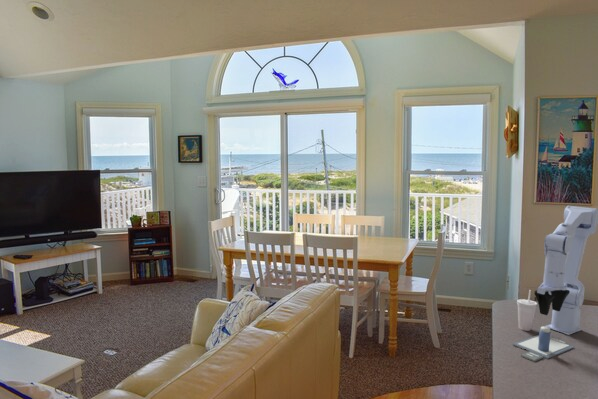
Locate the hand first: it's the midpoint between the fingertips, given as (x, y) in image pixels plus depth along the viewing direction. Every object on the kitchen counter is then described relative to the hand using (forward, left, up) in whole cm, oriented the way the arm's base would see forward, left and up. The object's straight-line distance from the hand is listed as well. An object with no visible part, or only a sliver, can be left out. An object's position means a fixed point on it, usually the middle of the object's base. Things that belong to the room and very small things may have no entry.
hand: (550, 312), depth 148 cm
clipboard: (+5, +2, -10) cm, 11 cm away
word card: (+16, +4, -10) cm, 19 cm away
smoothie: (-4, -10, -10) cm, 15 cm away
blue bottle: (+9, +4, -9) cm, 13 cm away
